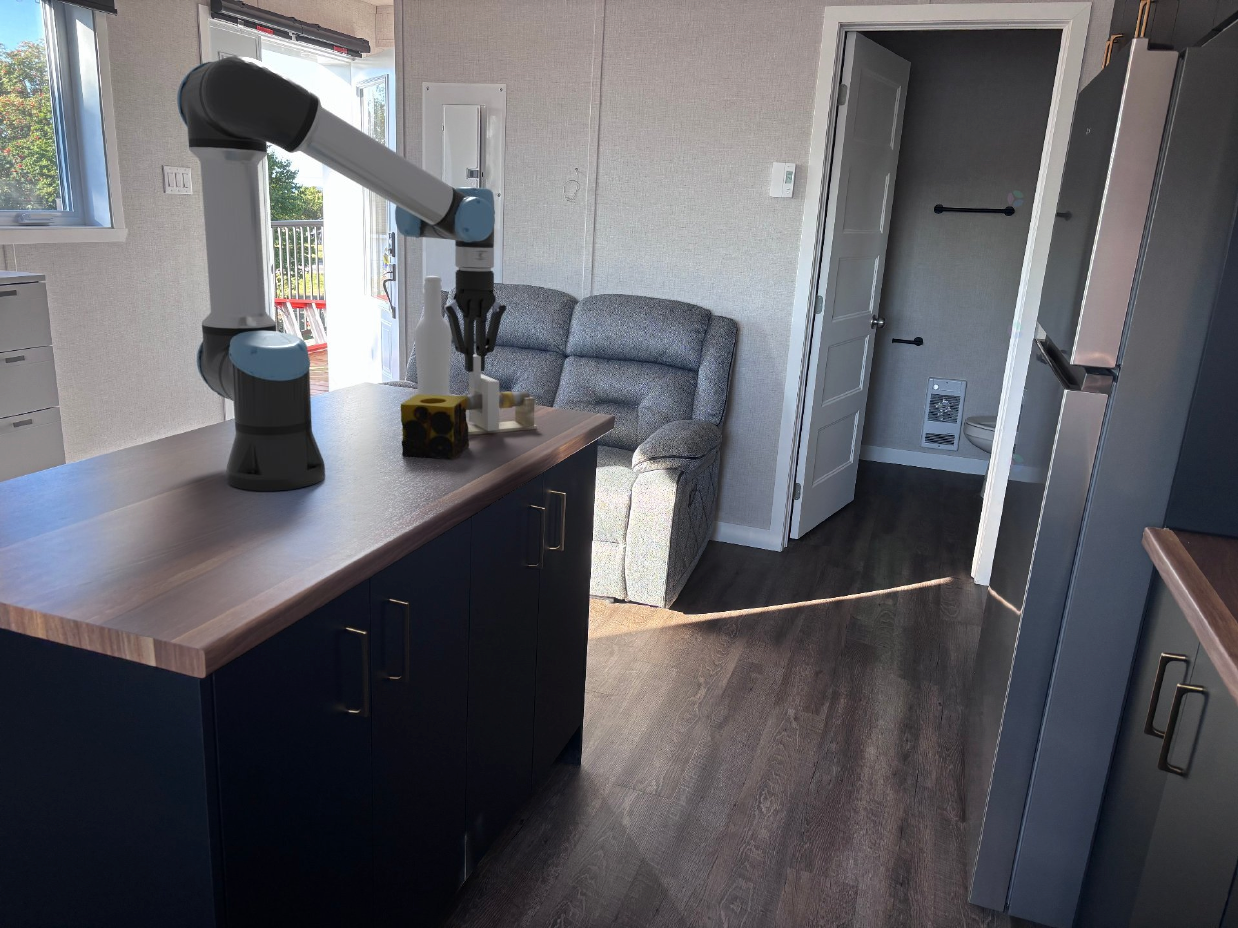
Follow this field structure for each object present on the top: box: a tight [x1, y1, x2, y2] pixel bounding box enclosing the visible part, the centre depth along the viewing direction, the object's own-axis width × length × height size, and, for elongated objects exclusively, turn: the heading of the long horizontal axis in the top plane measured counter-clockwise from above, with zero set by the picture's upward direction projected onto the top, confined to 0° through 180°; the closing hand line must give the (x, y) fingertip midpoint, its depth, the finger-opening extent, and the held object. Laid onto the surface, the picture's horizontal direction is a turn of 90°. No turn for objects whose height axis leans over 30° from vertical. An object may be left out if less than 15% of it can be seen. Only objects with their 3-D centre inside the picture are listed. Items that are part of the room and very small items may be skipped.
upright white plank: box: [468, 373, 500, 431], centre depth 189 cm, size 2×10×10 cm, turn 31°
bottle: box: [413, 275, 452, 396], centre depth 199 cm, size 8×8×30 cm
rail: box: [463, 390, 538, 436], centre depth 190 cm, size 19×6×8 cm, turn 121°
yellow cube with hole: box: [400, 393, 470, 460], centre depth 171 cm, size 10×10×10 cm
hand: (474, 387), depth 187 cm, fingers closed
